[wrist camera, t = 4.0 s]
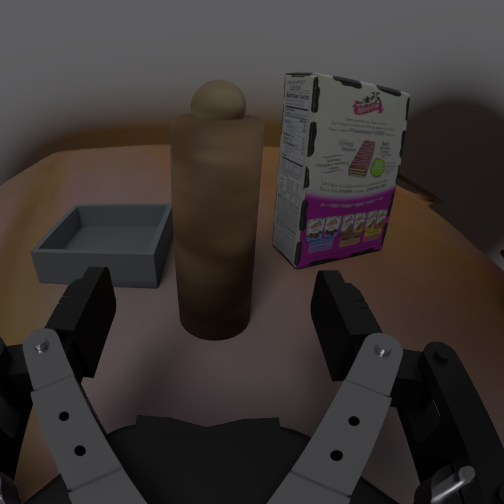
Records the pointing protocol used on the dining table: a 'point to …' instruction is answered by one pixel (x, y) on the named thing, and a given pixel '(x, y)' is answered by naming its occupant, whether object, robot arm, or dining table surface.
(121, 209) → the tray
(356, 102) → the candy bar box
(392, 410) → the dining table surface
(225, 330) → the pepper mill
